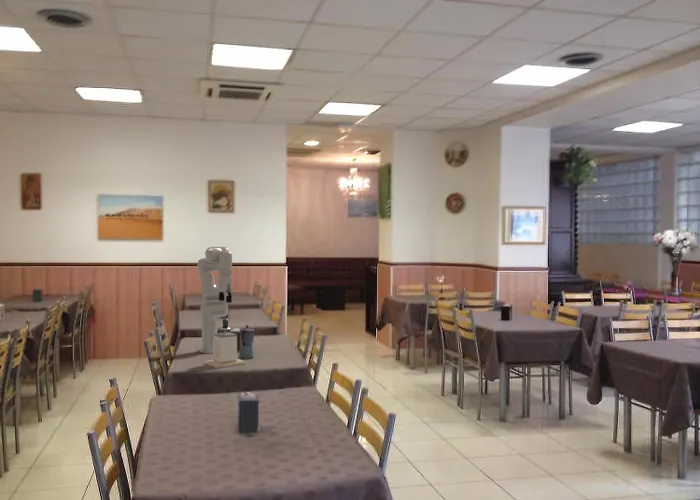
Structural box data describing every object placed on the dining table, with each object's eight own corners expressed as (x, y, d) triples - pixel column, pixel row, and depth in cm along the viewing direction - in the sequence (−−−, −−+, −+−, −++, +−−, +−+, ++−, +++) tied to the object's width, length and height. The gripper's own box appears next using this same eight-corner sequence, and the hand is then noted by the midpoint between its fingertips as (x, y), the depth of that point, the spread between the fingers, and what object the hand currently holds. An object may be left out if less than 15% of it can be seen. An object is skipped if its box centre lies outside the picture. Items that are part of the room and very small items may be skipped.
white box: (204, 363, 385) (204, 333, 384) (234, 359, 396) (234, 330, 396) (215, 368, 373) (215, 337, 372) (245, 364, 384) (245, 334, 384)
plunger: (216, 358, 385) (216, 319, 384) (228, 357, 390) (228, 318, 389) (222, 360, 379) (222, 320, 378) (234, 359, 384) (234, 319, 383)
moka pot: (257, 355, 409) (257, 323, 408) (251, 360, 394) (251, 327, 393) (242, 355, 410) (242, 323, 409) (235, 360, 394) (235, 327, 394)
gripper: (213, 271, 388) (213, 300, 388) (226, 273, 374) (225, 303, 375) (224, 271, 392) (224, 299, 393) (237, 273, 378) (237, 302, 379)
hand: (225, 301), depth 384 cm, fingers open, 9 cm apart
